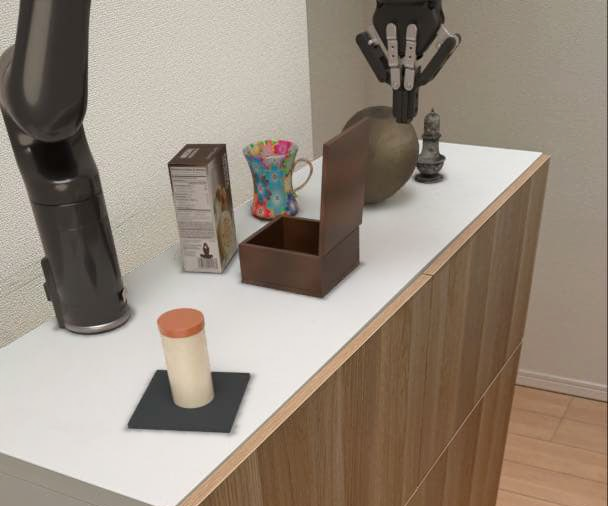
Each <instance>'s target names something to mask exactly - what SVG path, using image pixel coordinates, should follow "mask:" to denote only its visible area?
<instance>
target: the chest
mask: <svg viewBox="0 0 608 506" xmlns="http://www.w3.org/2000/svg"><path fill="white" fill-rule="evenodd" d="M319 228H320V219H316V218H315V219H314V218H308V217H303V216H295V215H283V214H280V215H279V216H277V217H276V218H274V219H271V220H270V221H269V222H267V223H266V224H264V225H263V226H262V227H261V228H259V229H257V230H256V231H255V232H253V233H252V234H250V235H249V236H248V237H247V238H245V239H243V240H242V241H241V242H239V243H237V247H238V249H237V251H238V257H239V258H238V259H239V268H240V278H241V283H243V284H248V285H252V286H253V285H254V286H258V287H262V288H268V289H274V290H278V291H284V292H288V293H294V294H299V295H303V296H304V295H305V296H308V297H309V296H310V297H315V298H319V299H323V298H324V297H325V296H326V295H328V293H330V292H331V291H332V290H333V289H334V288H335V287H336V286H337V285H338V284H339V283H340V282H341V281H342V280H344V279H345V278H346V277H347V276H348V275H350V273H351V272H352V271H354V270H355V269H356V268H357V267H358V266H359V265H360V226H358V227H357V228H356V229H355V230H354V231H352V232H351V233H350V234H349V235H348V236H346V237H345V238H344V239H343V240H342V241H341V242H339V243H338V244H337V245H336V246H335V247H333V248H332V249H331V250H330V251H329V252H327V253H326V254H325V255H324V256H321V255H318V251H319Z"/></svg>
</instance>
